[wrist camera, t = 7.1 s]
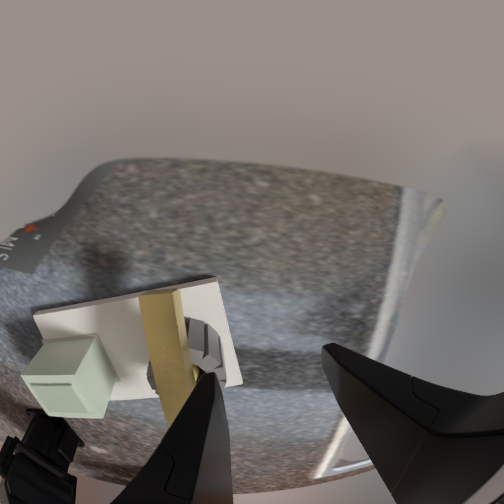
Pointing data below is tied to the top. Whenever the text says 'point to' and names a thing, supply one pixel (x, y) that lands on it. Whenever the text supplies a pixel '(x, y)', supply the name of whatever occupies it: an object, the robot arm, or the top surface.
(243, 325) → the top surface
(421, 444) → the robot arm
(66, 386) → the pale green block
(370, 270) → the top surface
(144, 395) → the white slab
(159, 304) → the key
